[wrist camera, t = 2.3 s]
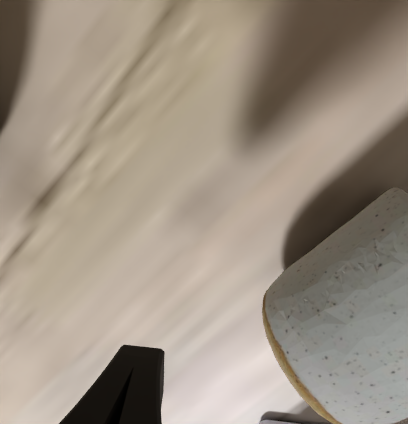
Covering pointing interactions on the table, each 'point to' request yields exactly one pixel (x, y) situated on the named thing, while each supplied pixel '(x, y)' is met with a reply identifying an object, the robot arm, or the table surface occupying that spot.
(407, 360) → the ceramic mug
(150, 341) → the table surface
